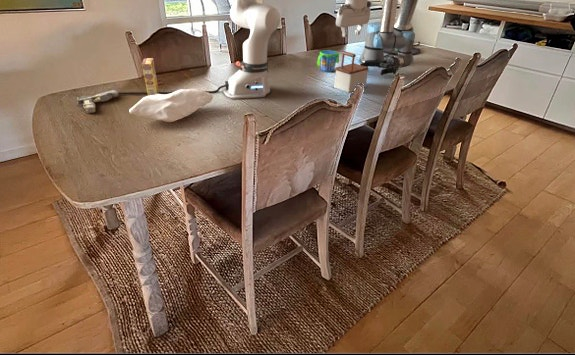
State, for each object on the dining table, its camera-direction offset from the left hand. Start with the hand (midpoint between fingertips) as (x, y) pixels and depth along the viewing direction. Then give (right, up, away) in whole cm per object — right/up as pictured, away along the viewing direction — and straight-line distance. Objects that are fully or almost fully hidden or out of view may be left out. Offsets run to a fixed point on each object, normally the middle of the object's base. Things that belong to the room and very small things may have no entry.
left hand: (350, 35), depth 170 cm
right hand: (+14, -9, +21) cm, 27 cm away
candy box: (-91, -28, -3) cm, 96 cm away
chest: (+2, -20, +16) cm, 26 cm away
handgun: (-110, -35, -14) cm, 116 cm away
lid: (+2, -13, +11) cm, 17 cm away
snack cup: (-7, -5, +40) cm, 41 cm away
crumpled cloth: (-77, -40, -21) cm, 89 cm away
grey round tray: (+48, +26, +91) cm, 105 cm away
